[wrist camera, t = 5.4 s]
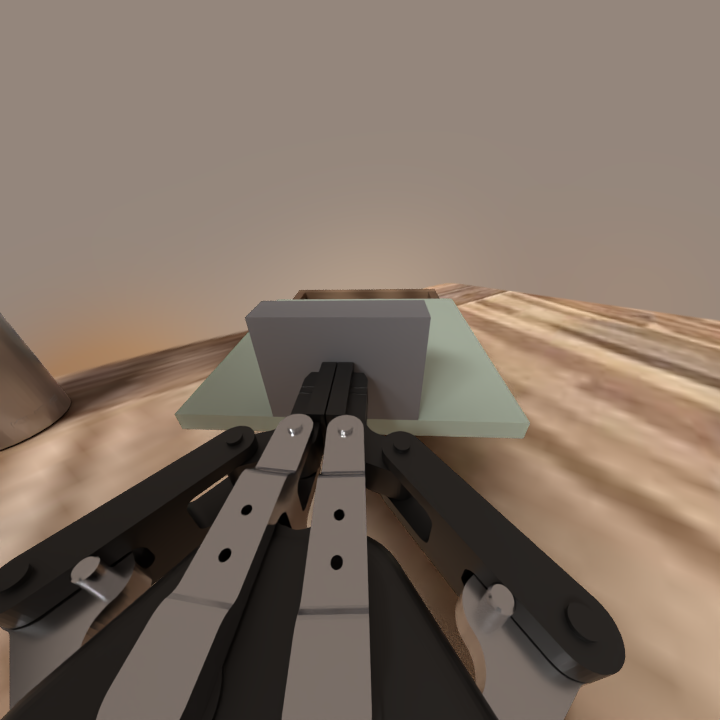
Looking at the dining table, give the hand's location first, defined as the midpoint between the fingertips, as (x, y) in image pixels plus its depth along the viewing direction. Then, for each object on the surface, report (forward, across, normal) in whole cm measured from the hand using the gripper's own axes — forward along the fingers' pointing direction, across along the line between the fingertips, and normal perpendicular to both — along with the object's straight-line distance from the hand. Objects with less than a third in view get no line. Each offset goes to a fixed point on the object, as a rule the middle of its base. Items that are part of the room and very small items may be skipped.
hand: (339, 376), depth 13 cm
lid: (+9, 0, +4) cm, 10 cm away
